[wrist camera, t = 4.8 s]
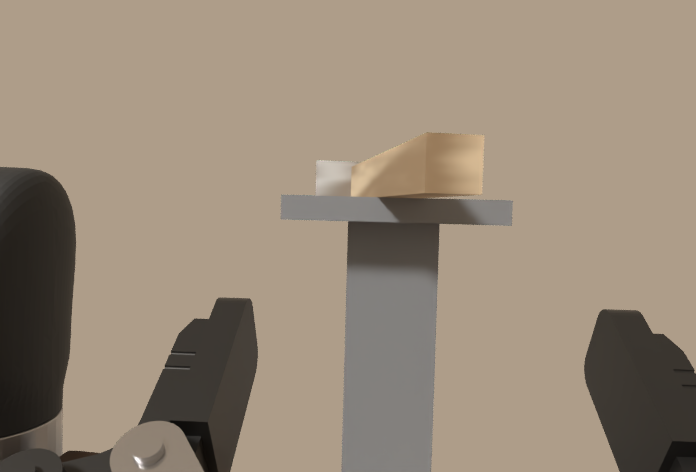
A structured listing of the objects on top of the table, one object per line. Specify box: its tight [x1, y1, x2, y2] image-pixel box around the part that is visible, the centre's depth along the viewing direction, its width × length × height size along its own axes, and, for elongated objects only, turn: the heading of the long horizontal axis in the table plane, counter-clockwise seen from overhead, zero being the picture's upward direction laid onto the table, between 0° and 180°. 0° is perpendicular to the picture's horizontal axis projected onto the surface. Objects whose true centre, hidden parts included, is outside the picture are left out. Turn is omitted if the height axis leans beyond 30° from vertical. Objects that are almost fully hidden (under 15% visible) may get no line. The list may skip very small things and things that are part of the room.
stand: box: [281, 195, 513, 472], centre depth 42 cm, size 14×12×32 cm
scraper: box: [316, 132, 484, 198], centre depth 36 cm, size 8×22×3 cm, turn 8°
